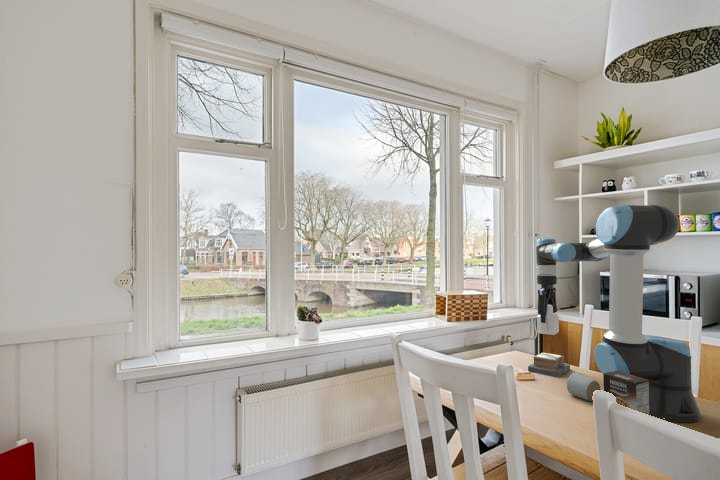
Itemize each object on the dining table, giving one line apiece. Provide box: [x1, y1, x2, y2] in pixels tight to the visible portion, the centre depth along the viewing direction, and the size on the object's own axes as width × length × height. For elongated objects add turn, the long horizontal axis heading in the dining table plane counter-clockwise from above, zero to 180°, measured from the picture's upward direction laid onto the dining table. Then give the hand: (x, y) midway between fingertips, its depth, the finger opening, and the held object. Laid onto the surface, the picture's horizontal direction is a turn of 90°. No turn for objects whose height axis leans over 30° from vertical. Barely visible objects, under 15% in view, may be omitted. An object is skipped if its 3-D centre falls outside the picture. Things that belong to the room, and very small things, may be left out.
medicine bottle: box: [536, 304, 560, 336], centre depth 170 cm, size 7×7×12 cm
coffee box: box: [602, 371, 650, 416], centre depth 112 cm, size 9×6×16 cm
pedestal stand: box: [527, 352, 571, 378], centre depth 170 cm, size 14×12×6 cm
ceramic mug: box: [566, 372, 602, 402], centre depth 139 cm, size 11×8×8 cm
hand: (547, 328), depth 170 cm, fingers closed on medicine bottle, 7 cm apart
